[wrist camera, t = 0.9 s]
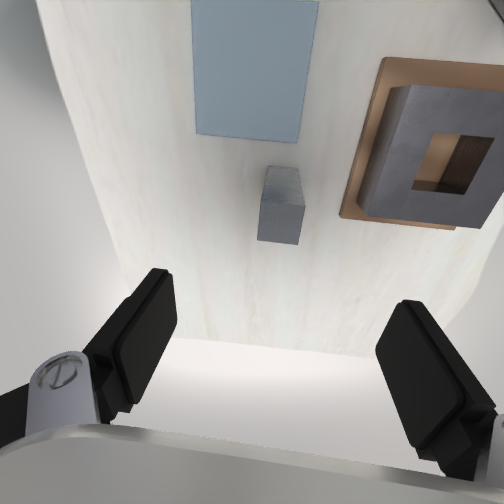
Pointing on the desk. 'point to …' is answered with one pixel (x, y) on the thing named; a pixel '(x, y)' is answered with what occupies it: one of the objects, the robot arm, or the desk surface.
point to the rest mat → (251, 66)
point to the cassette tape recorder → (499, 6)
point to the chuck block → (415, 147)
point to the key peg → (281, 206)
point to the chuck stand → (441, 144)
